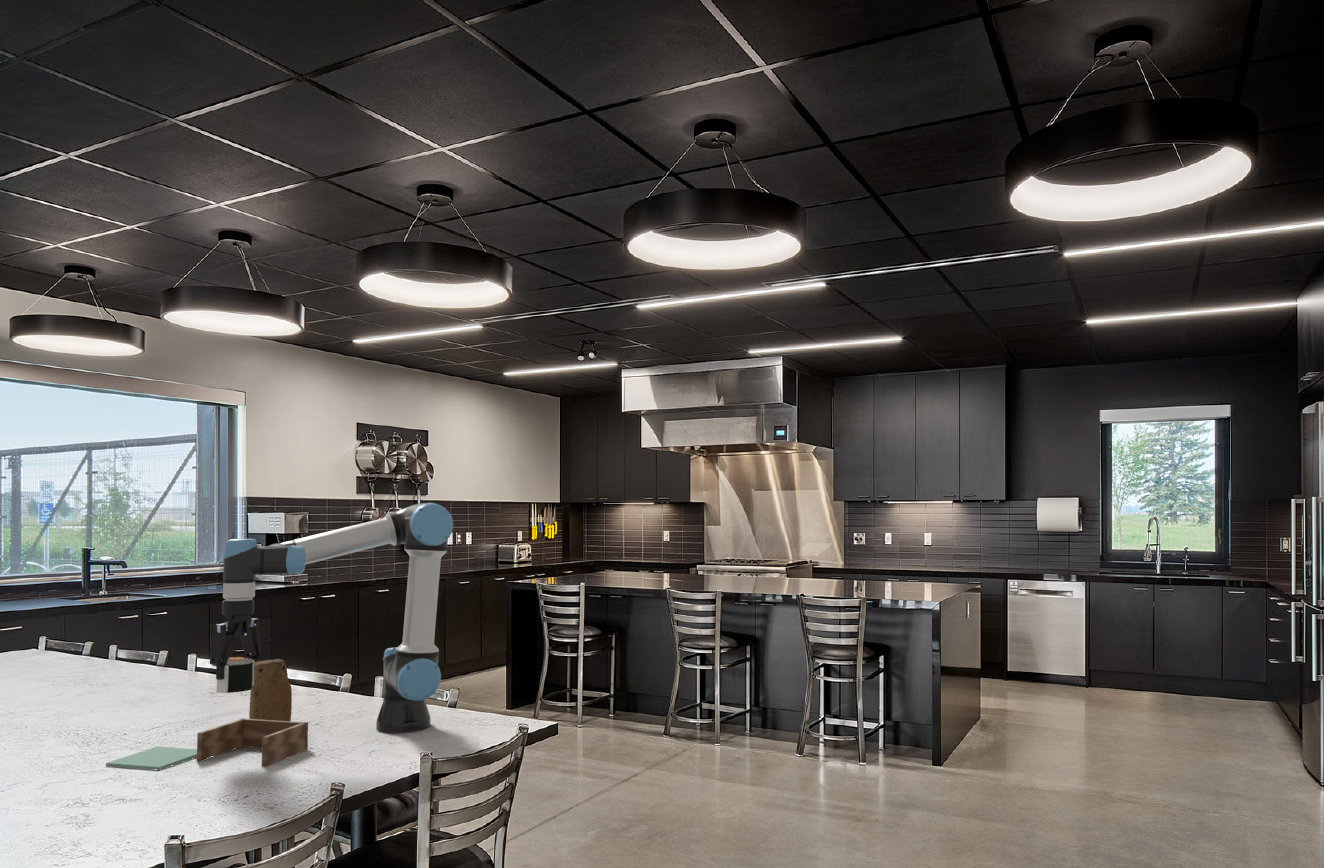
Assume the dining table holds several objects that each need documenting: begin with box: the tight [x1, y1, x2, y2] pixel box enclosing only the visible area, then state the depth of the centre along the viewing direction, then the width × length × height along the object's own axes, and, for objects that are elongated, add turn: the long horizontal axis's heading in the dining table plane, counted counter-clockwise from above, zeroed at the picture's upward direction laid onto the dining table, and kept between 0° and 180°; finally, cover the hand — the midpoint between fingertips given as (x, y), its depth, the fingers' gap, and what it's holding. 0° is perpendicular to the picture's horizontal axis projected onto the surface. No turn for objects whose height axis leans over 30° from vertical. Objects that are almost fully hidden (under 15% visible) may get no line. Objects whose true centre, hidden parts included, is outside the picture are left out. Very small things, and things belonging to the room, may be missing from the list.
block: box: [248, 658, 293, 721], centre depth 260 cm, size 11×8×20 cm
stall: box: [196, 718, 309, 767], centre depth 234 cm, size 16×20×7 cm
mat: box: [105, 746, 197, 771], centre depth 230 cm, size 16×16×1 cm
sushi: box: [226, 656, 254, 694], centre depth 231 cm, size 8×8×8 cm
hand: (235, 688), depth 231 cm, fingers closed on sushi, 9 cm apart
